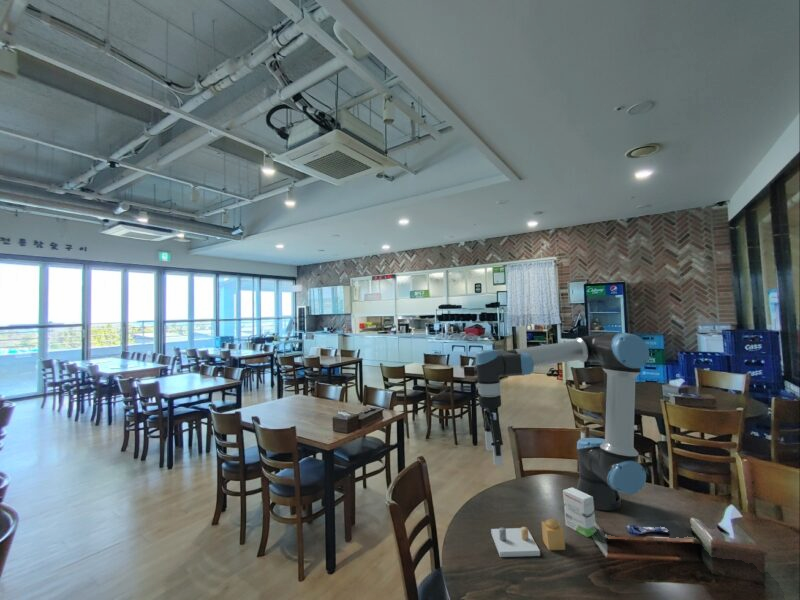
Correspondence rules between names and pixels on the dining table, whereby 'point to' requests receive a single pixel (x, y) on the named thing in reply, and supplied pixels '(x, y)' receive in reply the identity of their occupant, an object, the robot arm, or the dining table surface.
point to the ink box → (579, 511)
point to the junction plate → (514, 542)
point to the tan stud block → (553, 535)
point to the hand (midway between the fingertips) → (494, 457)
